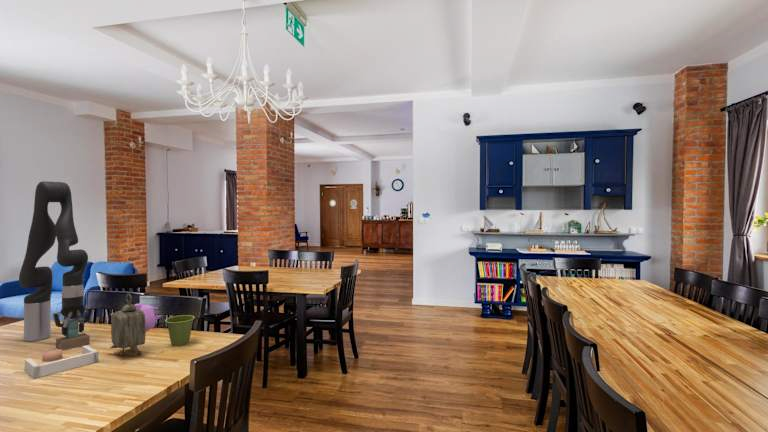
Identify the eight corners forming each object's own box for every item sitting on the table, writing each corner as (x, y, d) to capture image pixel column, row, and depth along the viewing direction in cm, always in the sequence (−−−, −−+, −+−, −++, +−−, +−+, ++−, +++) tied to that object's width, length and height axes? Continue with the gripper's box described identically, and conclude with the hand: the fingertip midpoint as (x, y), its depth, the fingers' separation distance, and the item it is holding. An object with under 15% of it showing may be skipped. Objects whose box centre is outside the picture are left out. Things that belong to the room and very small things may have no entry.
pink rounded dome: (40, 360, 152) (40, 352, 152) (59, 355, 157) (59, 348, 157) (45, 363, 149) (45, 355, 149) (64, 358, 154) (64, 351, 154)
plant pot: (158, 345, 168) (158, 320, 168) (182, 337, 179) (182, 314, 179) (178, 349, 164) (178, 323, 164) (200, 341, 175) (200, 316, 175)
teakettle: (164, 323, 203) (164, 300, 203) (143, 333, 186) (143, 308, 186) (132, 323, 204) (132, 300, 204) (108, 333, 187) (108, 307, 187)
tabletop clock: (145, 355, 157) (145, 294, 157) (119, 361, 151) (119, 298, 151) (135, 346, 167) (135, 289, 167) (110, 352, 161) (110, 292, 160)
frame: (24, 370, 142) (24, 359, 142) (86, 354, 157) (86, 345, 157) (34, 378, 134) (34, 367, 134) (98, 361, 150) (98, 351, 150)
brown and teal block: (55, 347, 166) (55, 322, 166) (83, 341, 174) (83, 317, 174) (61, 351, 162) (61, 325, 162) (89, 344, 170) (89, 320, 170)
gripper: (89, 291, 176) (89, 328, 176) (49, 297, 164) (49, 336, 164) (95, 293, 172) (95, 331, 172) (54, 299, 160) (54, 339, 160)
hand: (72, 333), depth 168 cm, fingers open, 5 cm apart
